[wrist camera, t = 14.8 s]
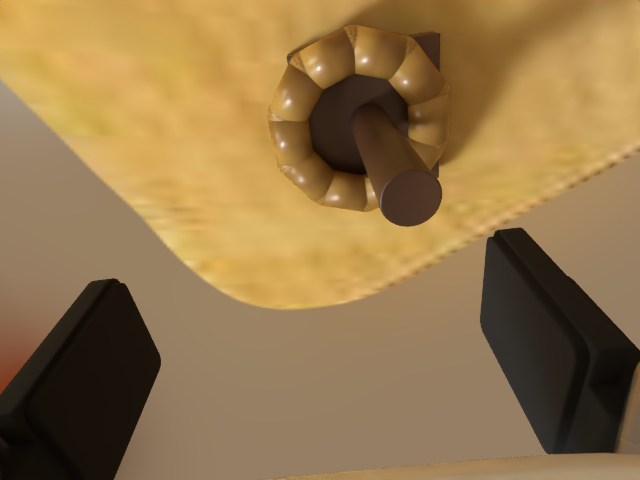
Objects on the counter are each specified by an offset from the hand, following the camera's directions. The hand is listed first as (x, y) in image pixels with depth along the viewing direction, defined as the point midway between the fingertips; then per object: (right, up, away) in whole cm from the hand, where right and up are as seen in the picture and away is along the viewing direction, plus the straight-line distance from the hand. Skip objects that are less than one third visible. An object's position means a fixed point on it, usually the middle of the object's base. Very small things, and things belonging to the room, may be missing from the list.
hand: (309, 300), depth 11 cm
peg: (+3, +10, +16) cm, 19 cm away
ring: (+3, +8, +14) cm, 17 cm away
